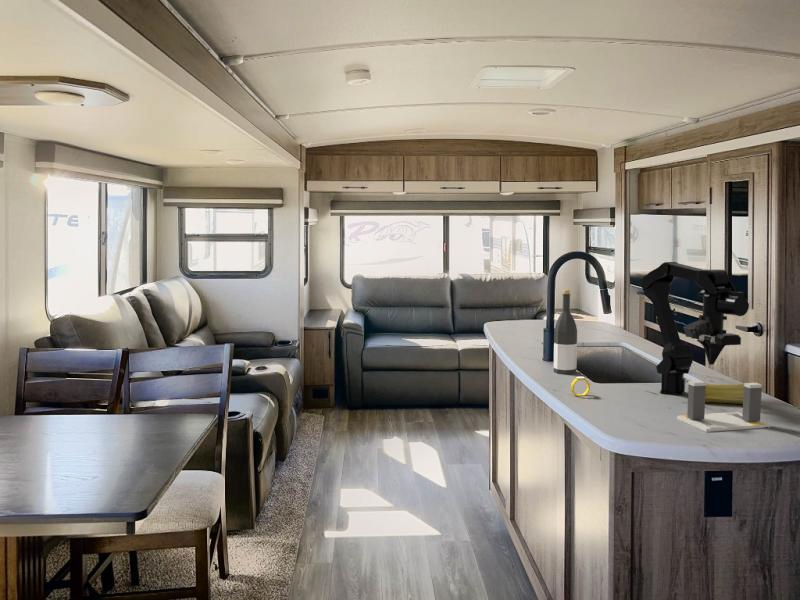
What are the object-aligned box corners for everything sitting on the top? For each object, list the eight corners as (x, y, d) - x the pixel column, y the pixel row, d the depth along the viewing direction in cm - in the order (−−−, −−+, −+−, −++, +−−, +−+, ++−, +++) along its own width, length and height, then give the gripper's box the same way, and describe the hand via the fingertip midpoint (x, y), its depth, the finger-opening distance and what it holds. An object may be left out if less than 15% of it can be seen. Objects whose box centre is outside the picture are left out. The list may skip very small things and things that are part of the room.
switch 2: (742, 419, 197) (744, 383, 196) (753, 418, 198) (755, 382, 197) (748, 422, 195) (750, 385, 194) (760, 421, 196) (761, 384, 195)
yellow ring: (574, 398, 228) (573, 379, 227) (570, 396, 231) (569, 377, 230) (591, 395, 229) (590, 377, 229) (587, 393, 232) (586, 375, 231)
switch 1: (687, 417, 200) (688, 381, 199) (698, 416, 201) (700, 380, 200) (692, 419, 198) (694, 383, 197) (704, 418, 198) (705, 382, 197)
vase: (746, 381, 220) (695, 380, 224) (749, 387, 214) (697, 386, 218) (745, 400, 221) (694, 399, 225) (749, 407, 215) (696, 406, 219)
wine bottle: (554, 374, 262) (555, 290, 259) (553, 369, 270) (554, 288, 266) (577, 374, 260) (578, 291, 257) (575, 370, 268) (577, 288, 265)
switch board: (677, 418, 203) (677, 415, 203) (737, 414, 206) (738, 411, 206) (705, 431, 190) (706, 428, 190) (769, 427, 194) (770, 423, 194)
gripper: (670, 309, 223) (669, 359, 225) (708, 317, 205) (706, 371, 207) (703, 308, 225) (701, 358, 227) (743, 315, 207) (741, 370, 209)
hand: (711, 364), depth 217 cm, fingers closed
